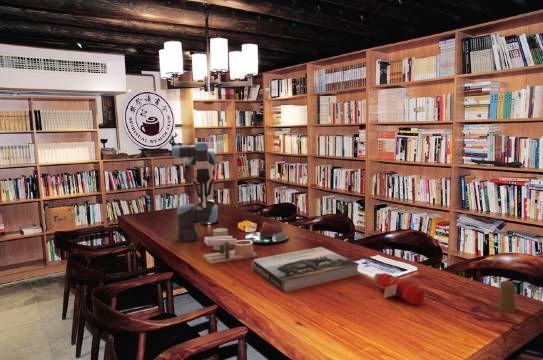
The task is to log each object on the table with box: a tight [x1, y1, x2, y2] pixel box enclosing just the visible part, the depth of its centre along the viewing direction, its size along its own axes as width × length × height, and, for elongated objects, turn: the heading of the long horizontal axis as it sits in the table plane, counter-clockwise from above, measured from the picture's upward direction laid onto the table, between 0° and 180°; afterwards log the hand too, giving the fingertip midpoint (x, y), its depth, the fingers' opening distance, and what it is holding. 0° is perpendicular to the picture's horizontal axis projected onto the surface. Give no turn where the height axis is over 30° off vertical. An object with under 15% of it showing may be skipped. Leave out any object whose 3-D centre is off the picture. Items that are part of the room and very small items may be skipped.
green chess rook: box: [497, 280, 517, 314], centre depth 154 cm, size 6×6×11 cm
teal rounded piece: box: [244, 221, 289, 244], centre depth 262 cm, size 28×28×11 cm
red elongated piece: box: [372, 273, 425, 306], centre depth 169 cm, size 12×8×25 cm
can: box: [212, 227, 229, 251], centre depth 244 cm, size 9×9×12 cm
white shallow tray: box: [203, 235, 238, 247], centre depth 227 cm, size 15×16×3 cm
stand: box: [202, 242, 258, 265], centre depth 228 cm, size 15×28×10 cm, turn 114°
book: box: [251, 246, 360, 293], centre depth 199 cm, size 43×33×6 cm
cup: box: [233, 239, 254, 255], centre depth 231 cm, size 10×10×6 cm
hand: (204, 207), depth 239 cm, fingers closed
